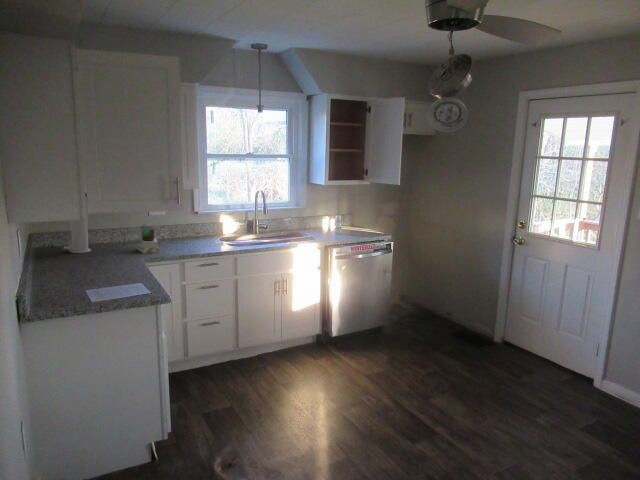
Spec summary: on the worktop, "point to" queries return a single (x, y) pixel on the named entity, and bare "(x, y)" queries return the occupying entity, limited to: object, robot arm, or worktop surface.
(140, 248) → the base slab
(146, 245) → the top slab
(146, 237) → the food container
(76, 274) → the worktop surface
